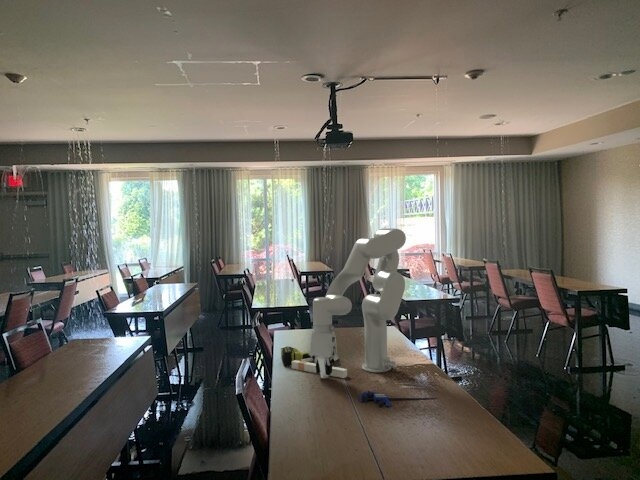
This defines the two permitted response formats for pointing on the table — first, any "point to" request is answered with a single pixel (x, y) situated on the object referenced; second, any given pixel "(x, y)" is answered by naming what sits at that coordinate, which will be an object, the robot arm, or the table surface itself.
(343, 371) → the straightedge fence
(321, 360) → the milkshake
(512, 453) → the table surface
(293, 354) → the cordless drill
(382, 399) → the bar clamp
